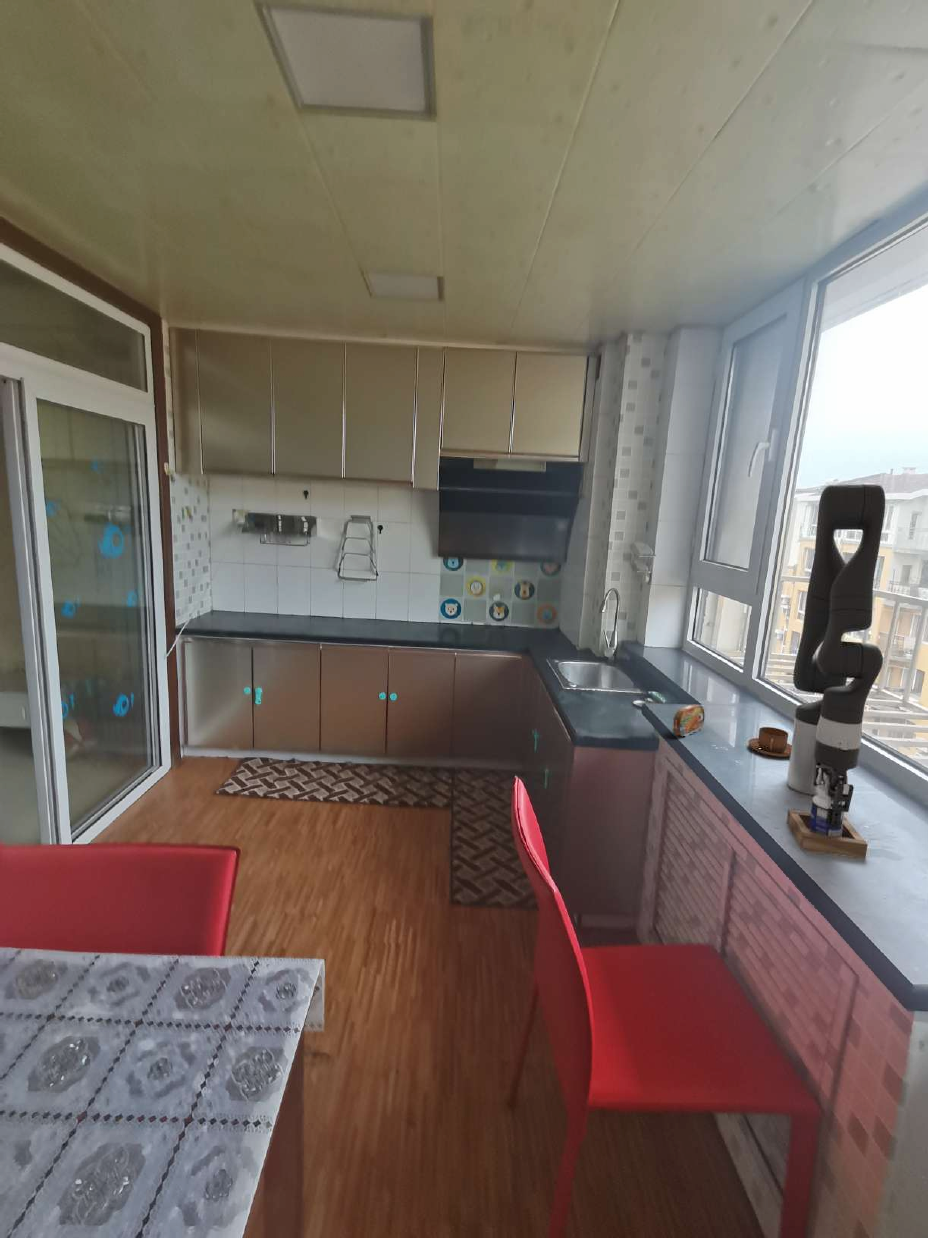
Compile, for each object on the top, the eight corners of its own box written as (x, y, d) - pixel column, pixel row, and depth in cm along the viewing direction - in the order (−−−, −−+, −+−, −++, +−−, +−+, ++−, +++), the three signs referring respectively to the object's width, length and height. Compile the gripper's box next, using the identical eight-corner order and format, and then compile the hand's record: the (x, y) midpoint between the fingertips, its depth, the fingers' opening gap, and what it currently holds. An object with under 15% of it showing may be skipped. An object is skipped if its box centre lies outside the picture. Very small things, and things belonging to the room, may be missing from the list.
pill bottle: (811, 824, 125) (816, 780, 123) (842, 834, 121) (849, 788, 120) (805, 835, 120) (811, 789, 119) (838, 845, 117) (845, 798, 115)
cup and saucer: (801, 762, 161) (804, 741, 160) (754, 758, 164) (756, 736, 163) (786, 746, 173) (789, 726, 172) (743, 742, 175) (745, 722, 174)
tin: (679, 740, 175) (682, 712, 174) (670, 737, 178) (672, 710, 176) (704, 729, 185) (706, 703, 184) (694, 726, 187) (697, 701, 186)
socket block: (786, 823, 127) (788, 810, 127) (843, 830, 125) (845, 817, 124) (803, 850, 117) (805, 836, 116) (865, 858, 114) (867, 844, 114)
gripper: (805, 726, 125) (795, 800, 128) (830, 751, 111) (818, 834, 114) (844, 730, 123) (833, 805, 126) (875, 756, 110) (862, 839, 112)
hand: (826, 818), depth 120 cm, fingers open, 5 cm apart
